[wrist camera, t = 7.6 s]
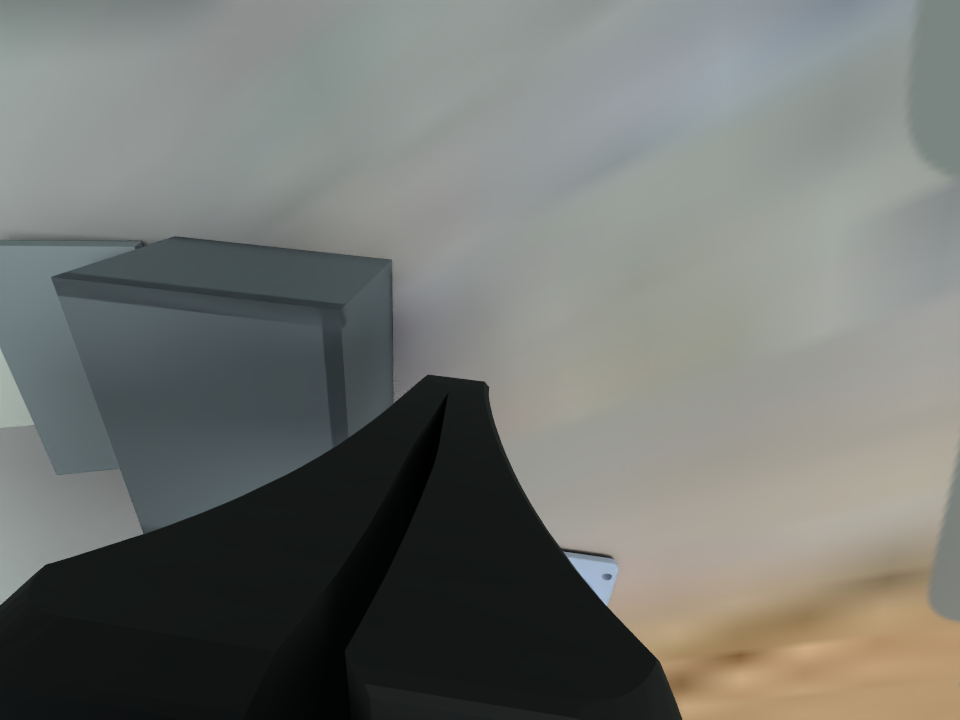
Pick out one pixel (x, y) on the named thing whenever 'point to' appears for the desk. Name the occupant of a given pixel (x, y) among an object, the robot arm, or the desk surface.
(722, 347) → the desk surface
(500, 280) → the desk surface
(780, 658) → the desk surface
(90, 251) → the carton flap
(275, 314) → the carton
